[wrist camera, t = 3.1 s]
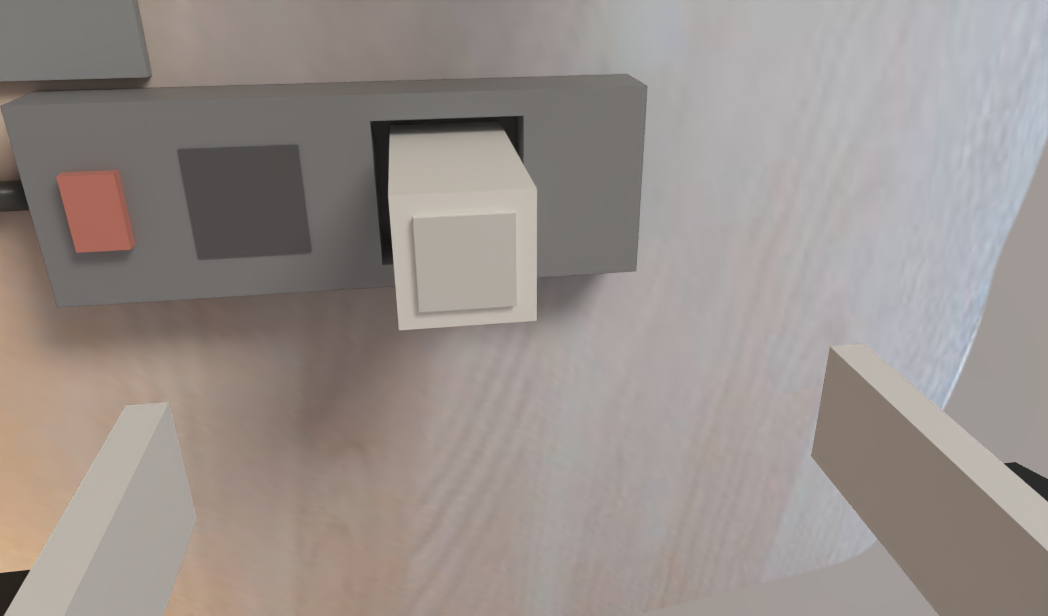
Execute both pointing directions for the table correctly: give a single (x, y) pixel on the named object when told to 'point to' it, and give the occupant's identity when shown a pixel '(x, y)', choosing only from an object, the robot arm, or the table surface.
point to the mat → (71, 40)
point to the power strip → (300, 180)
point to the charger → (461, 226)
